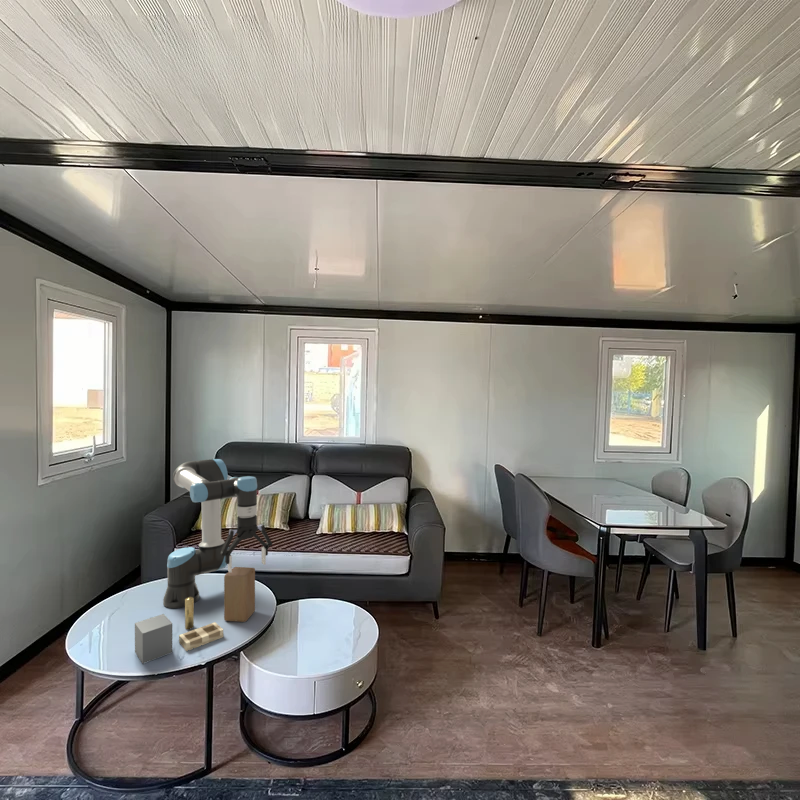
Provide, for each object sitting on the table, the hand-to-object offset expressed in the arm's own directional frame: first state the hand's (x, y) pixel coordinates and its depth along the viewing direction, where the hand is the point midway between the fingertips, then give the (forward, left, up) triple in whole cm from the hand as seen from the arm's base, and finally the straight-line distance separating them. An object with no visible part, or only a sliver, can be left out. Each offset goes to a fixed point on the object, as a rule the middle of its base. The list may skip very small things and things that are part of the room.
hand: (247, 567), depth 179 cm
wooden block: (-14, +4, -27) cm, 31 cm away
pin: (-20, -15, -27) cm, 37 cm away
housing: (-11, -31, -27) cm, 43 cm away
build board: (-7, -15, -27) cm, 32 cm away
